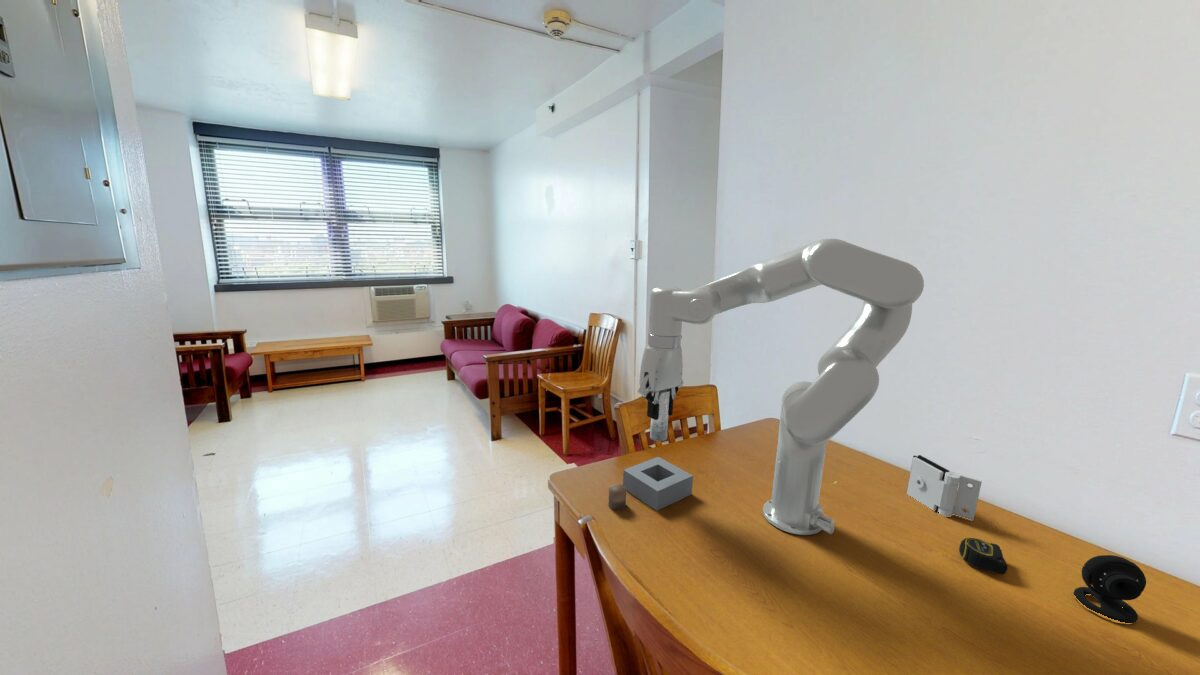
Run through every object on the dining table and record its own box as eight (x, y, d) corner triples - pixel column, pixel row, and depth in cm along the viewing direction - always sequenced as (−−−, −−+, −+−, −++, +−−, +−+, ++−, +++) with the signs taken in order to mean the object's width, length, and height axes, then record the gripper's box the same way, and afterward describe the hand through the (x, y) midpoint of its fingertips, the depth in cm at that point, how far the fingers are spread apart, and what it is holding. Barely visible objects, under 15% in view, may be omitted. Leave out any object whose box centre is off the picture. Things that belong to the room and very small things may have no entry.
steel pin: (670, 438, 109) (673, 391, 106) (658, 442, 106) (661, 394, 104) (658, 432, 112) (661, 386, 109) (646, 436, 109) (649, 389, 107)
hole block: (691, 494, 111) (693, 475, 110) (656, 510, 104) (657, 491, 102) (657, 474, 120) (658, 456, 119) (622, 488, 113) (623, 469, 112)
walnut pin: (629, 506, 105) (629, 489, 104) (615, 512, 103) (616, 494, 102) (618, 498, 108) (618, 481, 107) (605, 504, 106) (605, 487, 105)
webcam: (1088, 617, 76) (1103, 566, 74) (1062, 586, 83) (1075, 538, 81) (1150, 632, 73) (1168, 579, 71) (1118, 598, 80) (1133, 549, 78)
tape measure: (1005, 581, 84) (1010, 564, 83) (959, 566, 88) (963, 549, 87) (999, 560, 90) (1003, 544, 89) (955, 547, 93) (959, 531, 92)
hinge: (975, 521, 102) (983, 481, 100) (960, 526, 100) (969, 485, 98) (913, 490, 115) (919, 453, 112) (899, 494, 113) (905, 457, 110)
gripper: (677, 334, 112) (672, 404, 116) (626, 342, 102) (622, 418, 106) (700, 340, 106) (695, 413, 110) (648, 349, 96) (644, 429, 100)
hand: (659, 415), depth 108 cm, fingers closed on steel pin, 4 cm apart
